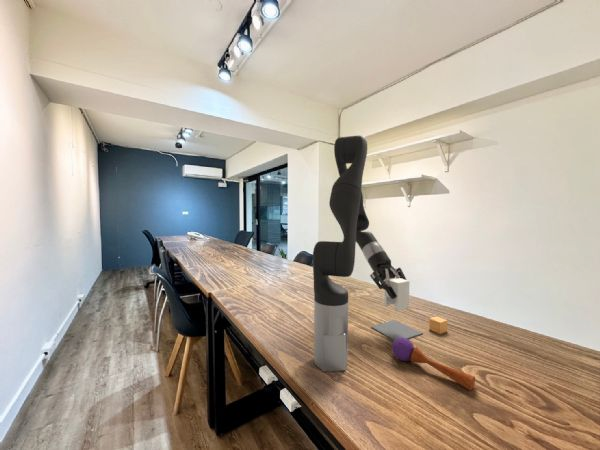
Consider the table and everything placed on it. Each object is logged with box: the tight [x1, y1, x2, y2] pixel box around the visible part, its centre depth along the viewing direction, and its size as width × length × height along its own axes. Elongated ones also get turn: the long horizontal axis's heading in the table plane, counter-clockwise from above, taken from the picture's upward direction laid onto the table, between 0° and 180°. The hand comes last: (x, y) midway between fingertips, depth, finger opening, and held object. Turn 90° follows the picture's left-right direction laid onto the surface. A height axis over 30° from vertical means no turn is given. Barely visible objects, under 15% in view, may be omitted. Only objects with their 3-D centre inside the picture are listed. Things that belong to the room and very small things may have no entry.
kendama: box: [391, 338, 476, 392], centre depth 67 cm, size 6×6×20 cm
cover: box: [384, 276, 410, 312], centre depth 89 cm, size 6×6×10 cm
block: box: [428, 316, 448, 335], centre depth 90 cm, size 4×4×4 cm
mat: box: [370, 319, 423, 341], centre depth 90 cm, size 12×12×1 cm
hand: (401, 296), depth 88 cm, fingers closed on cover, 5 cm apart
